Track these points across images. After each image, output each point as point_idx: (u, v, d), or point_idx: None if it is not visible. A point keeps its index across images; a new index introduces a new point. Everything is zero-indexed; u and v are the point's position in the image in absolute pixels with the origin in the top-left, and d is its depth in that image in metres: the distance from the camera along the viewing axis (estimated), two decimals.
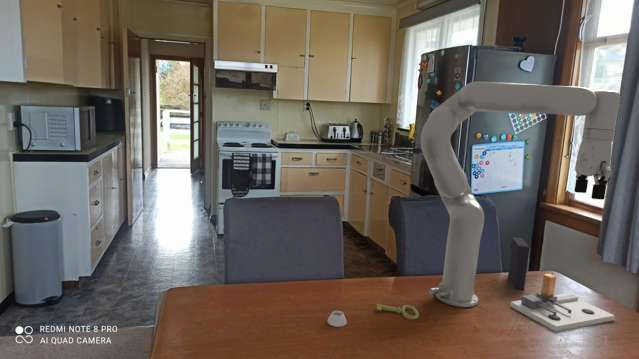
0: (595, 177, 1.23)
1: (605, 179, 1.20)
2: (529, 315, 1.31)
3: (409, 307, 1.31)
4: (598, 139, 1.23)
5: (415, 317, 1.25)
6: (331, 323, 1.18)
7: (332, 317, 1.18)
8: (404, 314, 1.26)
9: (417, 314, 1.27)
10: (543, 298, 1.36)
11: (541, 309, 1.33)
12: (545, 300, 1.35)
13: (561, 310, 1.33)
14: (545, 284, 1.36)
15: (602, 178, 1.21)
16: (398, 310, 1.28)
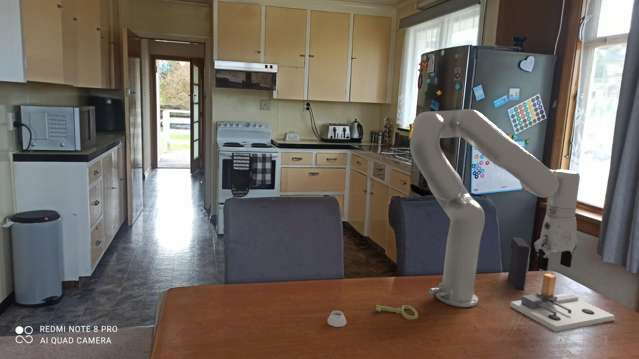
0: None
1: None
2: (529, 315, 1.31)
3: (408, 307, 1.31)
4: None
5: (415, 317, 1.25)
6: (331, 323, 1.18)
7: (332, 317, 1.18)
8: (404, 314, 1.26)
9: (416, 314, 1.27)
10: (543, 298, 1.36)
11: (541, 309, 1.33)
12: (545, 300, 1.35)
13: (561, 310, 1.33)
14: (545, 284, 1.36)
15: (575, 246, 1.37)
16: (397, 310, 1.27)
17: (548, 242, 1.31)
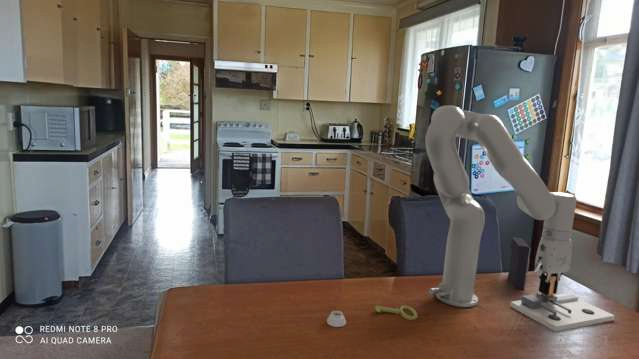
0: (559, 274, 1.36)
1: None
2: (529, 315, 1.31)
3: (406, 307, 1.31)
4: None
5: (414, 317, 1.25)
6: (330, 323, 1.18)
7: (331, 317, 1.18)
8: (403, 315, 1.26)
9: (415, 314, 1.27)
10: (543, 298, 1.36)
11: (541, 309, 1.33)
12: (545, 300, 1.35)
13: (561, 310, 1.33)
14: None
15: (562, 273, 1.37)
16: (397, 311, 1.27)
17: (543, 264, 1.32)
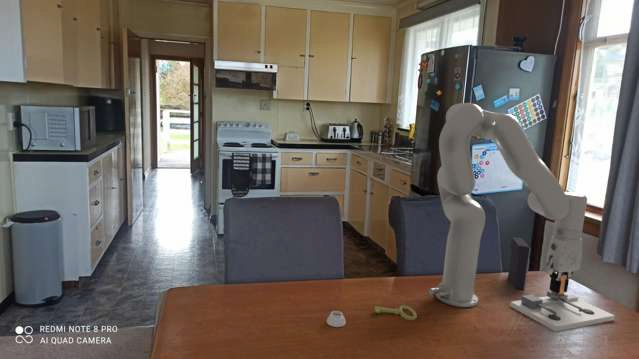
0: (570, 273, 1.38)
1: None
2: (529, 315, 1.31)
3: (405, 307, 1.31)
4: None
5: (414, 318, 1.25)
6: (330, 323, 1.18)
7: (331, 317, 1.18)
8: (403, 315, 1.25)
9: (415, 314, 1.27)
10: (554, 296, 1.38)
11: (541, 309, 1.33)
12: (556, 298, 1.37)
13: (561, 310, 1.33)
14: None
15: (572, 272, 1.39)
16: (396, 311, 1.27)
17: (554, 263, 1.34)
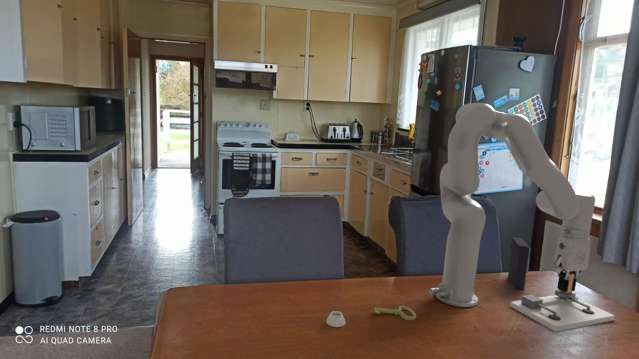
0: (578, 272, 1.39)
1: None
2: (529, 315, 1.31)
3: (404, 308, 1.31)
4: None
5: (414, 317, 1.25)
6: (330, 323, 1.18)
7: (331, 317, 1.18)
8: (403, 315, 1.25)
9: (414, 314, 1.27)
10: (562, 295, 1.39)
11: (541, 309, 1.33)
12: (564, 297, 1.38)
13: (561, 310, 1.33)
14: None
15: (580, 271, 1.40)
16: (396, 312, 1.27)
17: (562, 262, 1.35)
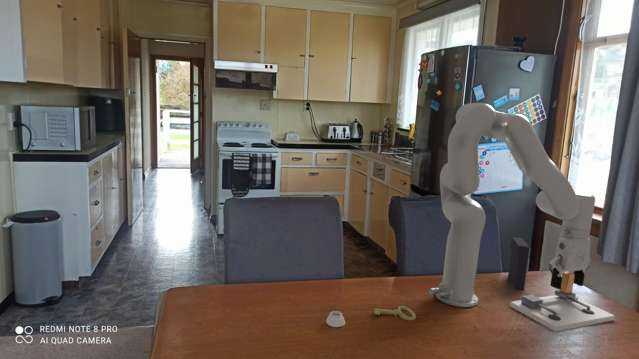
0: None
1: None
2: (529, 315, 1.31)
3: (403, 308, 1.30)
4: None
5: (414, 318, 1.25)
6: (330, 323, 1.17)
7: (331, 317, 1.18)
8: (402, 316, 1.25)
9: (414, 314, 1.27)
10: (562, 295, 1.39)
11: (541, 309, 1.33)
12: (564, 297, 1.38)
13: (561, 310, 1.33)
14: (564, 281, 1.39)
15: (588, 266, 1.41)
16: (395, 312, 1.26)
17: (562, 262, 1.35)
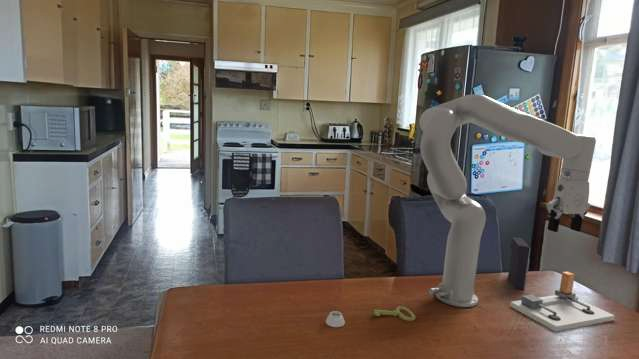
0: None
1: None
2: (529, 315, 1.31)
3: (402, 308, 1.30)
4: None
5: (413, 318, 1.24)
6: (329, 324, 1.17)
7: (330, 318, 1.18)
8: (402, 316, 1.25)
9: (413, 315, 1.27)
10: (562, 295, 1.39)
11: (541, 309, 1.33)
12: (564, 297, 1.38)
13: (561, 310, 1.33)
14: (564, 281, 1.39)
15: (586, 212, 1.39)
16: (395, 313, 1.26)
17: (560, 204, 1.34)
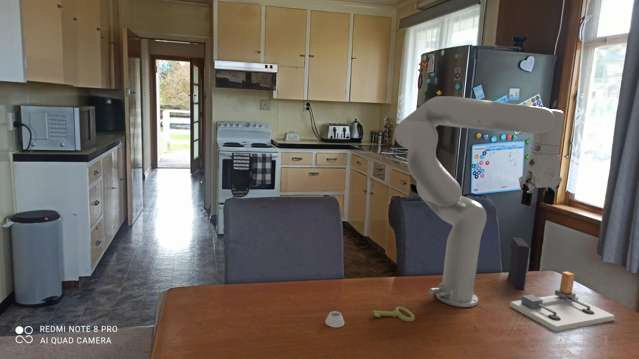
0: (554, 186, 1.41)
1: None
2: (529, 315, 1.31)
3: (400, 308, 1.30)
4: None
5: (413, 318, 1.24)
6: (329, 324, 1.17)
7: (330, 318, 1.18)
8: (402, 317, 1.24)
9: (412, 315, 1.26)
10: (562, 295, 1.39)
11: (541, 309, 1.33)
12: (564, 297, 1.38)
13: (561, 310, 1.33)
14: (564, 281, 1.39)
15: (558, 185, 1.43)
16: (394, 314, 1.25)
17: (532, 178, 1.37)
